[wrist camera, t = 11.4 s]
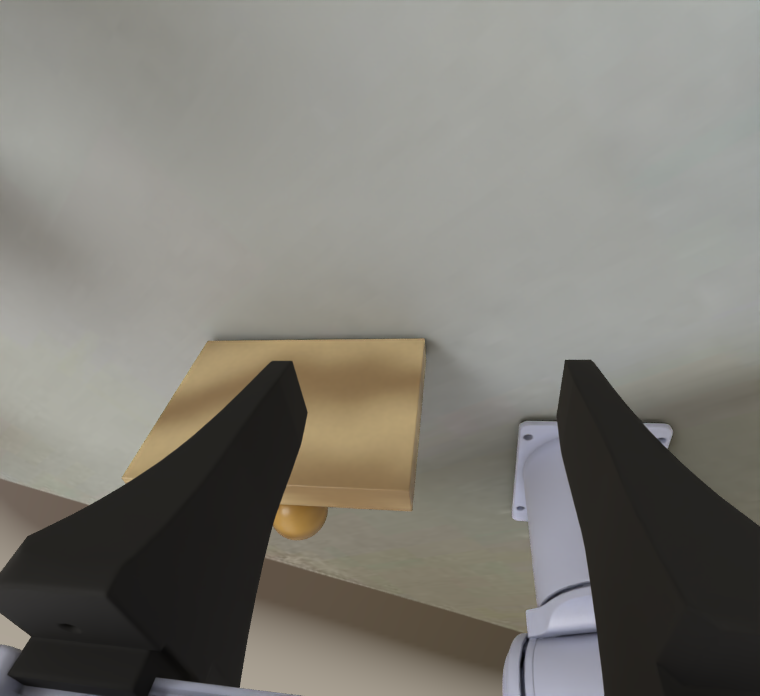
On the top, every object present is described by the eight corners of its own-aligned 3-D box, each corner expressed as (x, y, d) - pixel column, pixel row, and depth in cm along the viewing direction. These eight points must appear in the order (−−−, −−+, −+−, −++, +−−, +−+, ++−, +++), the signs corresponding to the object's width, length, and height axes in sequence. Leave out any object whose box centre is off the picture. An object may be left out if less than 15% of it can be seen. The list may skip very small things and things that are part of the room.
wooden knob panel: (424, 338, 25) (431, 422, 29) (207, 340, 27) (242, 418, 31) (409, 490, 18) (421, 572, 22) (120, 477, 20) (179, 554, 24)
